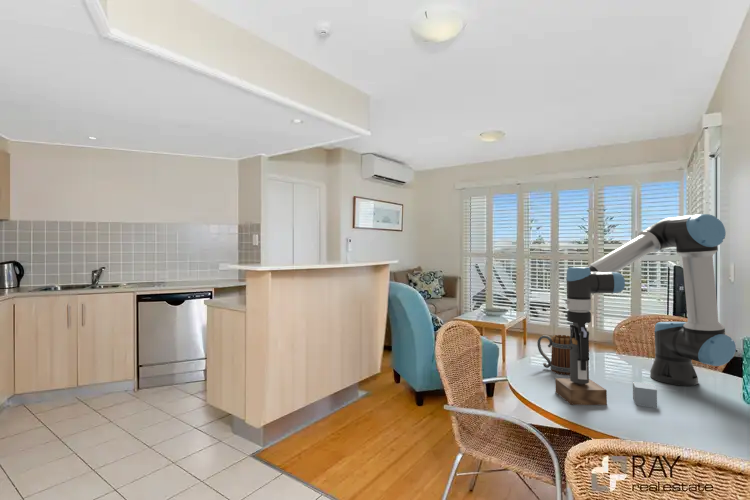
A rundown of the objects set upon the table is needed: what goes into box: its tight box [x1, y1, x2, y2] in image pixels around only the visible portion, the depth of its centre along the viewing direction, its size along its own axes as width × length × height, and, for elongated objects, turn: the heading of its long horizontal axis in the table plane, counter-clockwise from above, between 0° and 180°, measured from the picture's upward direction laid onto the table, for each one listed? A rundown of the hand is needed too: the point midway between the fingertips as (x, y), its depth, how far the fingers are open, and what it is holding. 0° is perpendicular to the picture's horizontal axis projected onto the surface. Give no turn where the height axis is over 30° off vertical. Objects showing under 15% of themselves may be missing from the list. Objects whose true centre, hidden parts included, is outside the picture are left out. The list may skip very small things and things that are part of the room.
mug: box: [536, 334, 570, 376], centre depth 169 cm, size 16×11×15 cm
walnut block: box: [554, 377, 608, 406], centre depth 138 cm, size 12×12×5 cm
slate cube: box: [632, 381, 658, 409], centre depth 133 cm, size 6×6×6 cm
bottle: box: [569, 338, 590, 384], centre depth 138 cm, size 6×6×15 cm
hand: (579, 376), depth 138 cm, fingers closed on bottle, 6 cm apart
